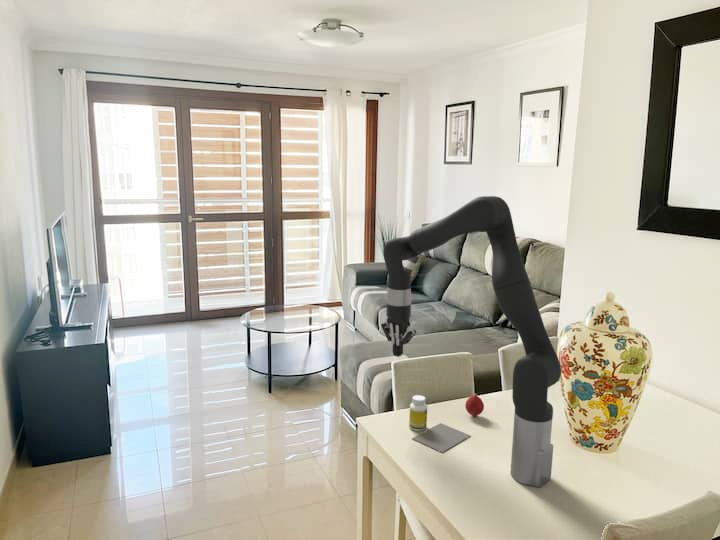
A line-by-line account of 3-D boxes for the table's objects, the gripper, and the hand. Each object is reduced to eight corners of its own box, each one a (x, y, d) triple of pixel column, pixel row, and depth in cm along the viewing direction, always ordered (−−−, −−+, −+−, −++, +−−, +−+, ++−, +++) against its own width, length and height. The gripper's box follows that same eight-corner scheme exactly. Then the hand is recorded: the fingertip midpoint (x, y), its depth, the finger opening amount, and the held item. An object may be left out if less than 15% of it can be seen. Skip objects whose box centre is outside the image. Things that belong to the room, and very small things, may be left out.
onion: (461, 414, 171) (462, 391, 170) (475, 411, 174) (476, 388, 172) (472, 422, 166) (473, 398, 165) (486, 418, 169) (488, 395, 167)
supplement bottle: (427, 431, 160) (428, 401, 158) (409, 431, 160) (410, 401, 158) (425, 423, 165) (426, 394, 163) (408, 423, 165) (409, 393, 163)
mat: (470, 436, 157) (470, 435, 157) (442, 453, 147) (442, 452, 147) (440, 423, 165) (440, 423, 165) (412, 439, 155) (412, 438, 155)
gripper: (423, 303, 160) (421, 358, 163) (390, 296, 169) (389, 347, 172) (407, 308, 155) (406, 364, 158) (374, 300, 164) (374, 353, 167)
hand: (397, 355), depth 165 cm, fingers closed
